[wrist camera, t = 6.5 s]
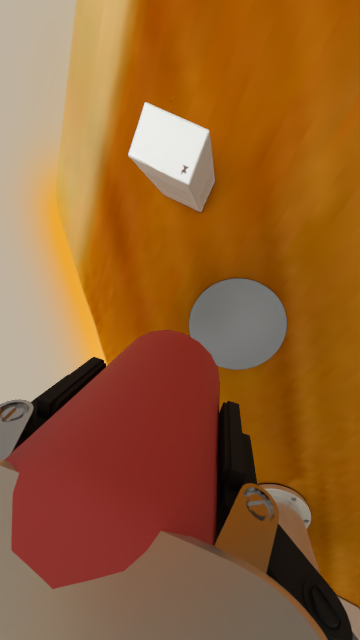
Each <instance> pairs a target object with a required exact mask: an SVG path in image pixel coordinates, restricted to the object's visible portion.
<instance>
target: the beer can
mask: <svg viewBox="0 0 360 640" xmlns="http://www.w3.org/2000/svg"><path fill="white" fill-rule="evenodd" d="M219 397H220V381H219V373H218V367H217V365H216V363H215V361H214V359H213V357H212V355H211V354H210V353H209V352H208V351H207V350H206V348H205V347H204V346H203V345H202V344H201V343H200V342H198V341H197V340H195V339H193V338H191V337H189V336H187V335H186V334H184V333H179V332H174V331H169V330H163V331H153V332H150V333H148V334H145V335H143V336H141V337H139V338H137V339H136V340H135V341H134V342H133V343H132V344H131V345H130V346H129V347H128V348H126V349H125V350H124V351H123V352H122V353H121V354H120V355H119V356H118V357H117V358H115V359H114V360H113V361H112V362H111V363H110V364H109V365H108V366H107V367H106V368H104V369H103V370H102V371H101V372H100V373H99V374H98V375H97V376H96V377H95V378H94V379H92V380H91V381H90V382H89V383H88V384H87V385H86V386H85V387H84V388H83V389H81V390H80V391H79V392H78V393H77V394H76V395H75V396H74V397H73V398H72V399H70V400H69V401H68V402H67V403H66V404H65V405H64V406H63V407H62V408H61V409H60V410H58V411H57V412H56V413H55V414H54V415H53V416H52V417H51V418H50V419H49V420H47V421H46V422H45V423H44V424H43V425H42V426H41V427H40V428H39V429H38V430H36V431H35V432H34V433H33V434H32V435H31V436H30V437H29V438H28V439H27V440H26V441H24V442H23V443H22V444H21V445H20V446H19V447H18V448H17V449H16V450H15V451H13V452H12V453H11V454H10V455H9V456H8V457H7V458H6V459H5V460H4V461H7V462H9V463H10V464H11V465H12V466H13V467H14V468H15V470H16V471H17V472H19V476H18V479H17V482H16V485H15V488H14V491H13V500H12V537H11V549H12V551H13V552H14V553H15V554H16V555H17V556H18V557H19V558H20V559H21V560H22V561H23V562H25V563H26V564H27V565H28V566H29V567H30V568H31V569H32V570H33V571H34V572H35V573H37V574H38V575H39V576H40V577H41V578H42V579H43V580H44V581H45V582H46V583H47V584H48V585H49V586H50V587H51V588H52V589H56V588H60V587H64V586H68V585H72V584H77V583H81V582H85V581H89V580H93V579H97V578H101V577H105V576H108V575H112V574H116V573H119V572H123V571H125V570H126V569H127V568H128V567H129V566H130V565H132V564H133V563H134V562H135V561H136V560H137V559H138V558H139V557H140V556H141V555H143V554H144V553H145V552H146V551H147V550H148V548H149V547H150V546H151V544H152V543H153V541H154V540H155V538H156V537H157V535H158V534H159V533H160V531H165V532H171V533H176V534H181V535H185V536H192V537H194V538H197V539H199V540H201V541H203V542H206V543H208V544H210V545H213V546H214V545H215V543H216V516H217V476H218V436H219Z"/></svg>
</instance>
